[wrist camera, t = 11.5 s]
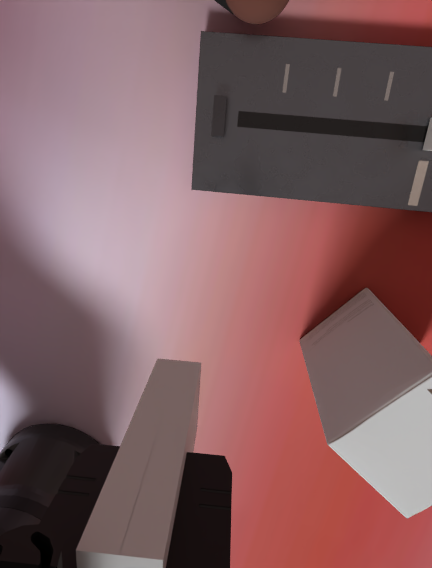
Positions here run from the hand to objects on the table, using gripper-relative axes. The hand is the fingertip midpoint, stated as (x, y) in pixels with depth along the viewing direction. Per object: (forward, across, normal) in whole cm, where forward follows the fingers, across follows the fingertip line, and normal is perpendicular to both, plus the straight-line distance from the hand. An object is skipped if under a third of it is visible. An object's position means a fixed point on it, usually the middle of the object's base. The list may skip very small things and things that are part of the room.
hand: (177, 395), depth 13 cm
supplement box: (+24, +15, -9) cm, 30 cm away
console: (+24, +12, +11) cm, 29 cm away
